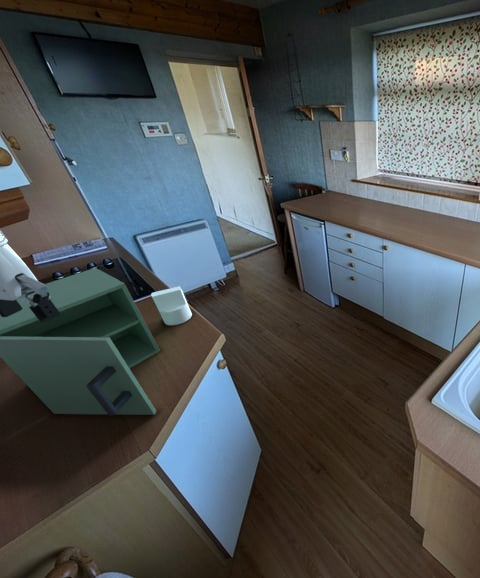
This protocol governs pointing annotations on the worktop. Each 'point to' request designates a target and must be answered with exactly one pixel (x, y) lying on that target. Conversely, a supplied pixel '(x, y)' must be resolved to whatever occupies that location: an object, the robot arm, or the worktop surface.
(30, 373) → the cupboard door
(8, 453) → the worktop surface
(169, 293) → the base with upright slab
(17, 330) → the cupboard
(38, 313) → the robot arm
